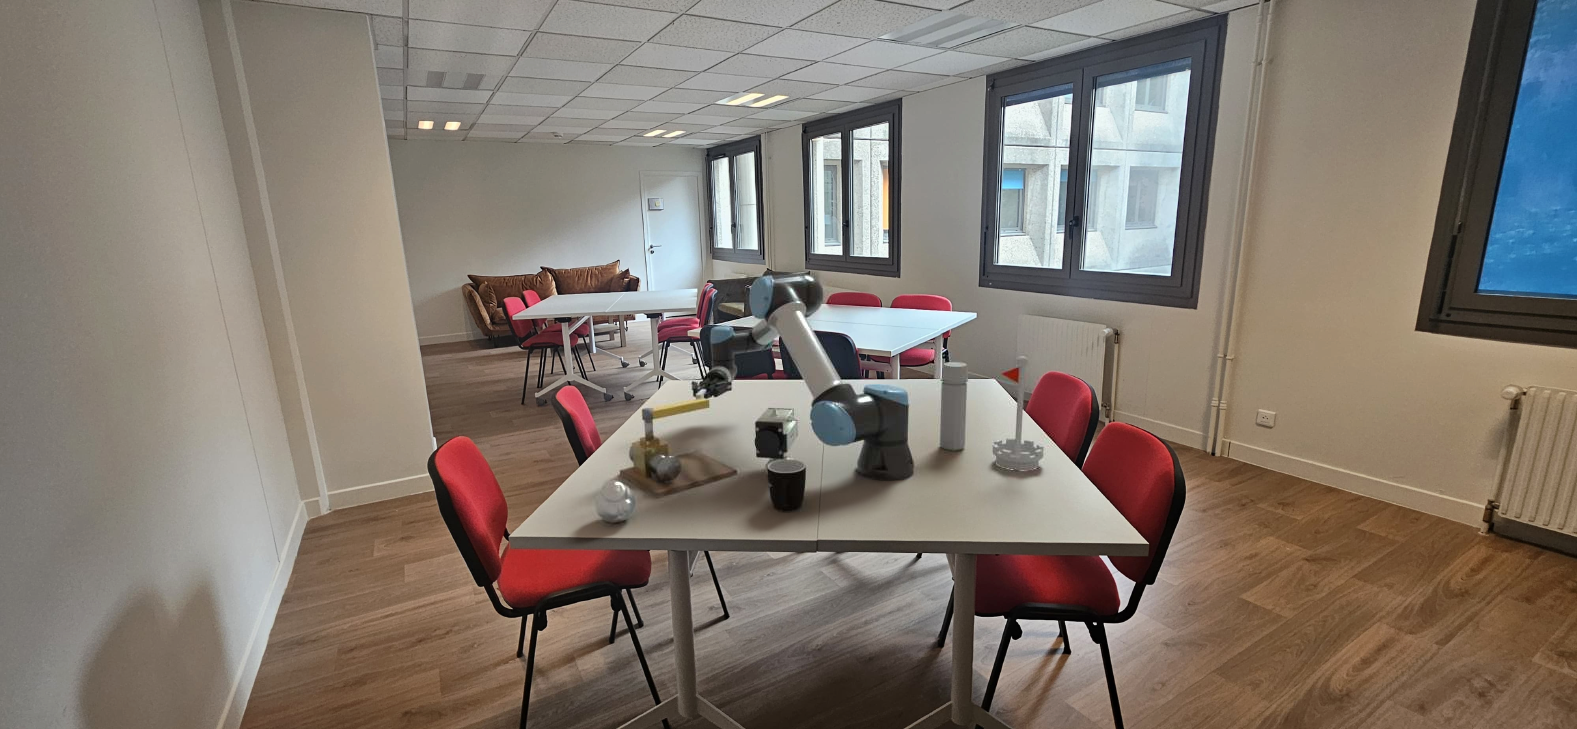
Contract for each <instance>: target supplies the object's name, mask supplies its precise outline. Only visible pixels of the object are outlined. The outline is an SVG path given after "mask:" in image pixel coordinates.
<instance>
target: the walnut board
mask: <svg viewBox="0 0 1577 729" xmlns="http://www.w3.org/2000/svg"><path fill="white" fill-rule="evenodd" d="M673 456H674V457H676V458H677V459H678V460H679V461H680V463H681V471H680V473H679V475H678V476H677V478H675V479H674V480H672V481H662V482H658V483H656V482H655V481H653V480H652V479H651V477H650V478H647V479H645V478H644V477H642V476H641V475H639V474H637V473H636V472H634V466H631V467H627V468H622V469H620V470H619V475H621V477H624V478H625V479H626V480H628V481H629V482H631V483H633V484H634V485H636V486H637V487H639V488H640V489H641V490H644V491H645V492H646V493H648V494H650V495H651V496H653V498H656V499H657V498H660V497H661V498H662V497H663V496H664V497H665V496H667V495H670V494H673V493H678V492H681V491H683V490H687V489H692V488H694V487H699V486H701V485H704V484H708V483H712V482H714V481H719V480H721V479H726V478H729V477H732V475H733V476H736V475H738V469H736V468H734V467H732V466H729V465H728V464H726V463H724V462H721V461H720V460H717V459H715V458H714V457H711V456H709V455H708V454H705V453H703V452H701V451H699V450H694V451H690V452H689V451H688V452H686V453H682V454H677V455H673ZM735 474H736V475H735ZM728 476H729V477H728ZM725 477H726V478H725ZM711 481H712V482H711Z"/></svg>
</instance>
